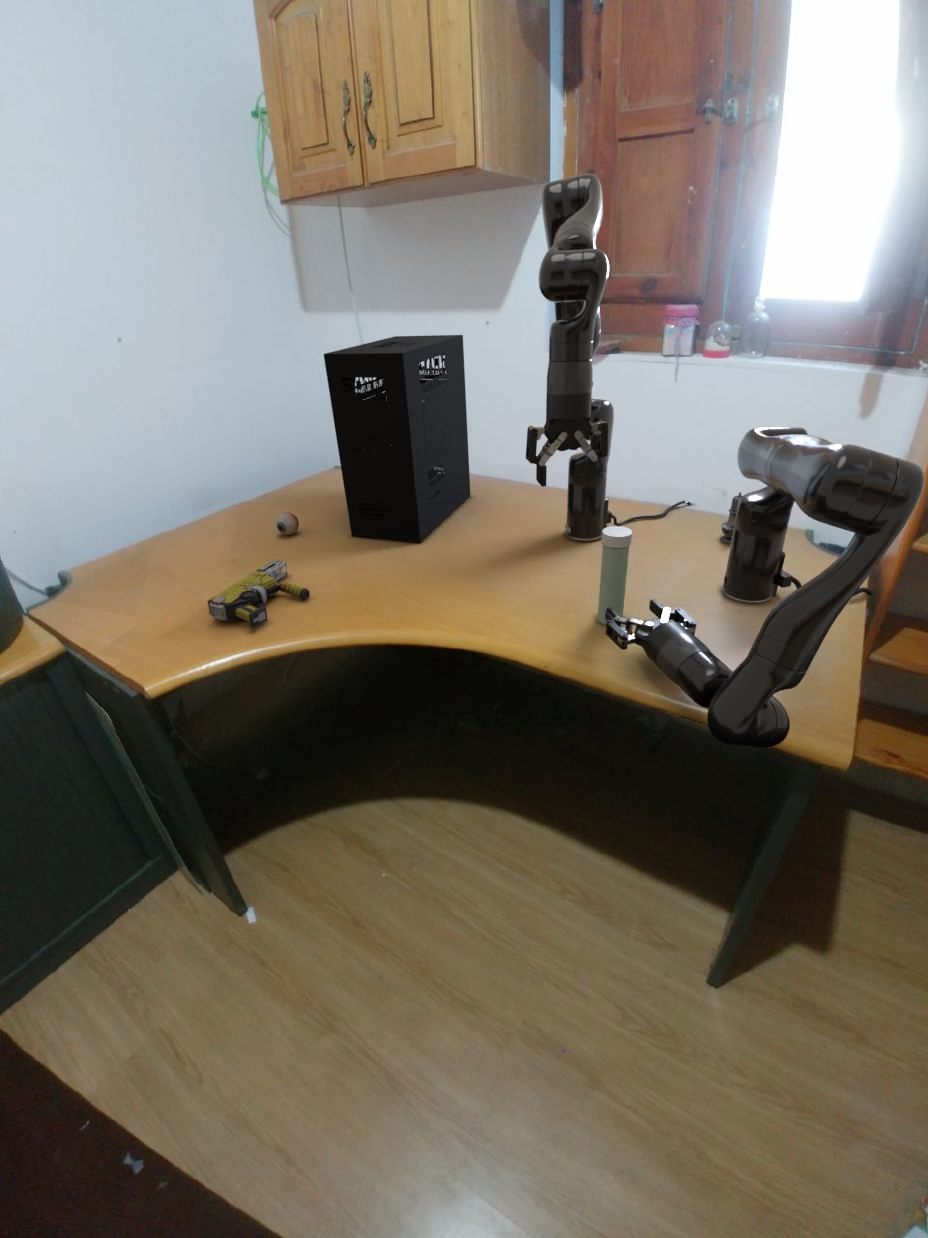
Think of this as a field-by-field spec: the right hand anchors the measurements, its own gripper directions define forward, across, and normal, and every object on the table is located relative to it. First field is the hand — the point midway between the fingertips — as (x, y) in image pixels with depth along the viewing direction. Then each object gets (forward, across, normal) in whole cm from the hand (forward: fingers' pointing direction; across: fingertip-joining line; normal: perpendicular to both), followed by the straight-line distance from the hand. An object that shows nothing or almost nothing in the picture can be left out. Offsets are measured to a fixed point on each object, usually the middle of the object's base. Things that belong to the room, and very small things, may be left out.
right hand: (629, 607), depth 108 cm
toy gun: (+38, +64, +6) cm, 75 cm away
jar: (+7, 0, +6) cm, 9 cm away
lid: (+7, 0, -12) cm, 14 cm away
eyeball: (+78, +60, +6) cm, 98 cm away
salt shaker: (+31, -44, +6) cm, 55 cm away
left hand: (+14, +7, -20) cm, 25 cm away
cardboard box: (+79, +25, +6) cm, 83 cm away
